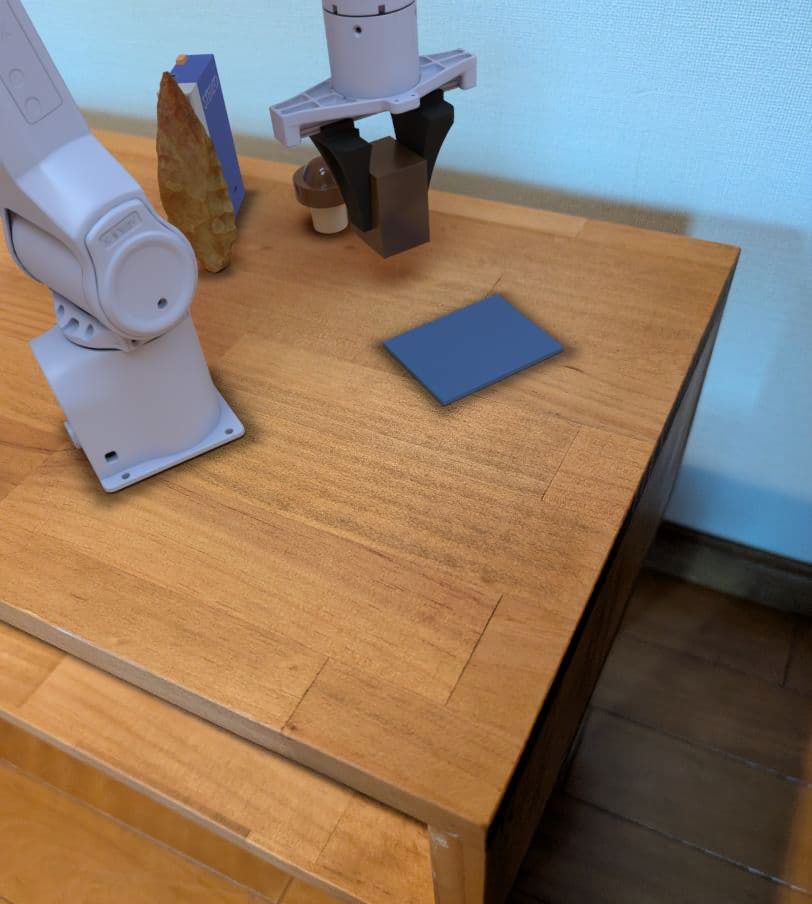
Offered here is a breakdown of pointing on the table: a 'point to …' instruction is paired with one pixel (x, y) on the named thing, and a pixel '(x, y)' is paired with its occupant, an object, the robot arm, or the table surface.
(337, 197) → the mushroom
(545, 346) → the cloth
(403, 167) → the block
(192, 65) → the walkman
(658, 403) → the table surface
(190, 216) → the stone tool
